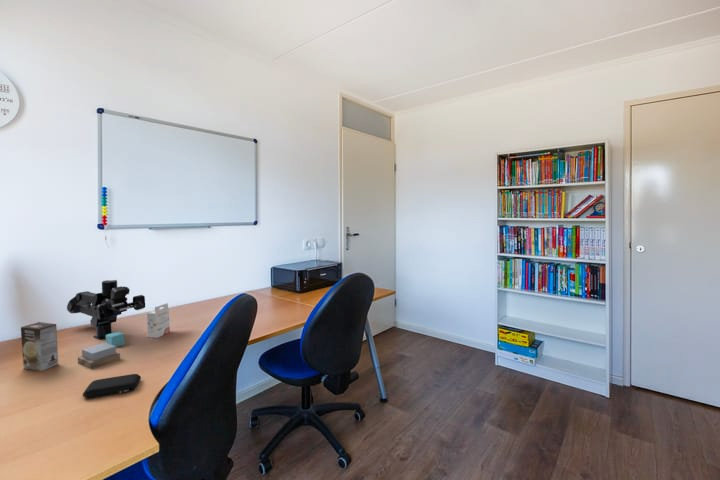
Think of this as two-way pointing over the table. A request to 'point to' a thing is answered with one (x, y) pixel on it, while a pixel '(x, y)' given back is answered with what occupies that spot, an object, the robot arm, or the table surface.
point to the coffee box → (39, 346)
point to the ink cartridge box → (158, 321)
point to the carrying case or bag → (112, 386)
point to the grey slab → (98, 351)
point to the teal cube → (115, 339)
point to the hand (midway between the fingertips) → (132, 309)
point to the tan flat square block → (98, 361)
